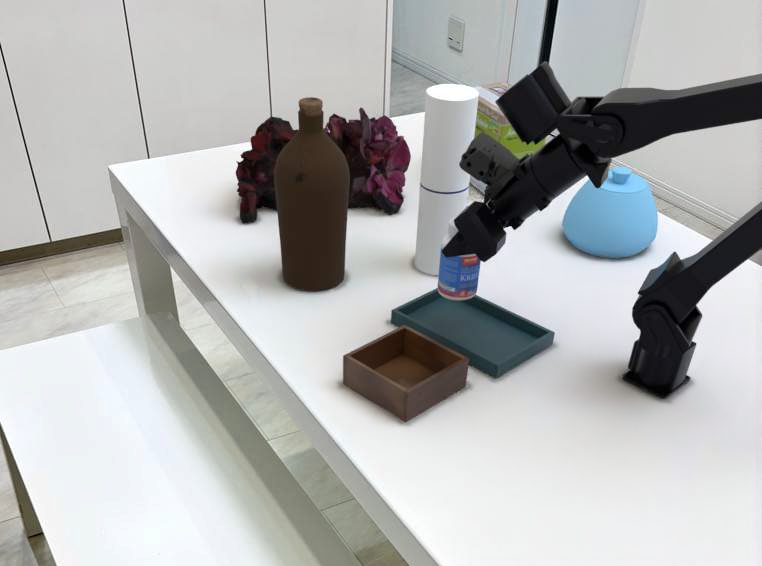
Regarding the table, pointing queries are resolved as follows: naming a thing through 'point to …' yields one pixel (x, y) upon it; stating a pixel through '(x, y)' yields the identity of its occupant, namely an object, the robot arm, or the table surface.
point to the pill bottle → (457, 272)
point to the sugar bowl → (612, 216)
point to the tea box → (498, 125)
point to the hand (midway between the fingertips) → (451, 245)
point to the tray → (475, 330)
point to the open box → (405, 372)
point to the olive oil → (312, 204)
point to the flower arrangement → (360, 147)
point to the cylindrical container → (443, 167)
